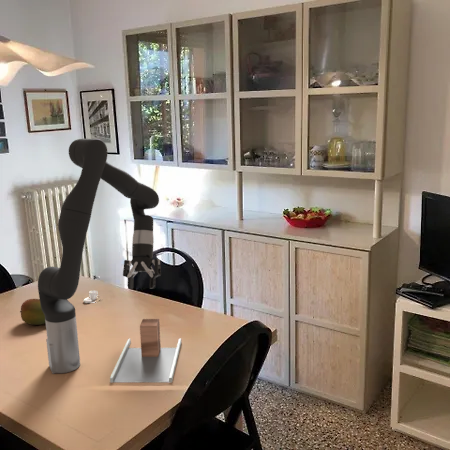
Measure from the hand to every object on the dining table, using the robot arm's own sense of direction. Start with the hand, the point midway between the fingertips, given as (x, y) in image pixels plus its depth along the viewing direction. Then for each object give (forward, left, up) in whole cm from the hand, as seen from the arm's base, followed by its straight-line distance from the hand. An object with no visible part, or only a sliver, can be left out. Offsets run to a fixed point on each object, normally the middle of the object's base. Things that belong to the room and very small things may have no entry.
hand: (141, 288), depth 179 cm
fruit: (-32, +31, -18) cm, 48 cm away
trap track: (-6, -21, -18) cm, 28 cm away
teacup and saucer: (-10, +46, -19) cm, 51 cm away
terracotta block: (-3, -16, -17) cm, 24 cm away
